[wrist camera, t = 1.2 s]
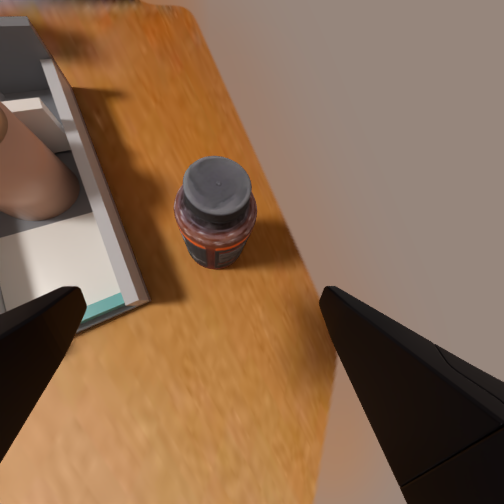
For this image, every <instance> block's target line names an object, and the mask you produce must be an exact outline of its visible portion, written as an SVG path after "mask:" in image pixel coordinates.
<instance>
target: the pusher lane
mask: <svg viewBox="0 0 504 504" xmlns="http://www.w3.org/2000/svg"><path fill="white" fill-rule="evenodd" d="M0 92H1V93H2V94H3V95H4V96H5V99H6V101H11V100H20V99H29V98H38V97H39V98H40V99H41V101H42V102H43V103H44V104H45V105H46V107H47V108H48V109H49V110H50V112H51V113H52V114H53V115H54V116H55V118H56V119H57V120H58V121H59V123H60V124H61V125H62V126H63V128H64V130H65V133H66V136H67V139H68V142H69V145H70V148H71V150H67V151H62V152H57V153H54V154H55V155H56V156H57V157H58V158H59V159H60V160H61V161H62V162H63V163H64V164H65V165H66V166H67V167H68V168H69V169H70V170H71V171H72V172H73V173H74V174H75V175H76V177H77V179H78V181H79V185H80V190H79V195H78V197H77V200H76V201H75V203H74V204H73V205H72V206H71V207H70V208H69V209H68V210H67V211H65V212H64V213H62V214H60V215H58V216H56V217H54V218H50V219H47V220H41V221H25V220H20V219H17V218H14V217H12V216H10V215H7V214H5V213H3V212H1V211H0V314H2V313H5V312H7V311H9V310H11V309H13V308H16V307H18V306H20V305H22V304H25V303H27V302H29V301H31V300H33V299H36V298H38V297H40V296H42V295H44V294H47V293H49V292H51V291H53V290H55V289H58V288H60V287H63V286H78V287H79V288H81V291H82V293H83V296H84V298H85V301H86V304H87V309H86V313H85V315H84V317H83V319H82V321H81V323H80V325H79V327H78V329H77V332H76V334H77V333H79V332H81V331H84V330H86V329H88V328H91V327H93V326H95V325H98V324H100V323H102V322H104V321H107V320H109V319H111V318H114V317H116V316H118V315H121V314H123V313H125V312H128V311H130V310H132V309H134V308H137V307H139V306H141V305H144V304H146V303H148V302H151V299H150V296H149V293H148V291H147V288H146V285H145V283H144V280H143V277H142V275H141V272H140V269H139V267H138V264H137V261H136V259H135V256H134V253H133V251H132V248H131V245H130V242H129V240H128V237H127V234H126V232H125V229H124V226H123V224H122V221H121V218H120V216H119V213H118V210H117V208H116V205H115V202H114V200H113V197H112V194H111V192H110V189H109V186H108V184H107V181H106V178H105V176H104V173H103V170H102V167H101V165H100V162H99V159H98V157H97V154H96V151H95V149H94V146H93V143H92V141H91V138H90V135H89V133H88V130H87V127H86V125H85V122H84V119H83V117H82V114H81V111H80V109H79V106H78V103H77V100H76V98H75V95H74V92H73V90H72V87H71V85H70V84H69V82H68V81H67V79H66V77H65V76H64V74H63V73H62V71H61V70H60V68H59V66H58V65H57V63H56V62H55V60H54V58H53V57H52V55H51V54H50V52H49V51H48V49H47V47H46V46H45V44H44V43H43V41H42V40H41V38H40V36H39V35H38V33H37V32H36V30H35V28H34V27H33V25H32V24H31V22H30V21H29V19H28V17H27V16H25V17H0Z"/></svg>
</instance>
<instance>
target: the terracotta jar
mask: <svg viewBox="0 0 504 504" xmlns="http://www.w3.org/2000/svg"><path fill="white" fill-rule="evenodd" d="M79 190H80V185H79V181H78V179H77V177H76V175H75V174H74V173H73V172H72V171H71V170H70V169H69V168H68V167H67V166H66V165H65V164H64V163H63V162H62V161H61V160H60V159H59V158H58V157H57V156H56V155H55V154H54V153H53V152H52V151H51V150H50V149H49V148H48V147H47V146H46V145H45V144H44V143H43V142H42V141H41V140H40V139H39V138H38V137H37V136H36V135H35V134H34V133H33V132H31V131H30V130H29V129H28V128H27V127H26V126H25V125H24V124H23V123H22V122H21V121H20V120H19V119H18V118H17V117H16V116H15V115H14V114H13V113H12V112H11V111H10V110H9V109H8V108H7V107H6V106H5V105H4V104H3V103H1V102H0V211H1V212H3V213H5V214H7V215H10V216H12V217H14V218H17V219H20V220H25V221H41V220H47V219H50V218H54V217H56V216H58V215H60V214H62V213H64V212H65V211H67V210H68V209H69V208H70V207H71V206H72V205H73V204H74V203H75V201H76V200H77V197H78V195H79Z"/></svg>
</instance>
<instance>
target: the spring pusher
mask: <svg viewBox="0 0 504 504" xmlns="http://www.w3.org/2000/svg"><path fill="white" fill-rule="evenodd" d="M0 102H1V103H3V104H4V105H5V106H6V107H7V108H8V109H9V110H10V111H11V112H12V113H13V114H14V115H15V116H16V117H17V118H18V119H19V120H20V121H21V122H22V123H23V124H24V125H25V126H26V127H27V128H28V129H29V130H30V131H31V132H33V133H34V134H35V135H36V136H37V137H38V138H39V139H40V140H41V141H42V142H43V143H44V144H45V145H46V146H47V147H48V148H49V149H50V150H51V151H52V152H53V153H57V152H62V151H67V150H71V148H70V145H69V142H68V139H67V136H66V133H65V130H64V128H63V126H62V125H61V124H60V123H59V121H58V120H57V119H56V118H55V116H54V115H53V114H52V113H51V112H50V110H49V109H48V108H47V107H46V105H45V104H44V103H43V102H42V101H41V99H40V98H39V97H38V98H29V99H20V100H11V101H6V99H5V96H4V95H3V94H2V93H1V92H0Z"/></svg>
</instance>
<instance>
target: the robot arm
mask: <svg viewBox="0 0 504 504" xmlns="http://www.w3.org/2000/svg"><path fill="white" fill-rule="evenodd" d="M319 306H320V309H321V312H322V315H323V318H324V320H325V323H326V326H327V329H328V332H329V335H330V337H331V340H332V342H333V344H334V347H335V349H336V351H337V353H338V355H339V357H340V360H341V362H342V364H343V366H344V368H345V370H346V372H347V375H348V377H349V379H350V381H351V383H352V385H353V387H354V390H355V392H356V394H357V396H358V398H359V401H360V402H361V405H362V407H363V409H364V411H365V413H366V416H367V418H368V420H369V422H370V424H371V426H372V428H373V431H374V433H375V435H376V437H377V439H378V441H379V444H380V446H381V448H382V450H383V452H384V454H385V456H386V459H387V461H388V463H389V465H390V467H391V470H392V472H393V474H394V476H395V478H396V480H397V482H398V485H399V486H400V489H401V491H402V494H403V496H404V498H405V500H406V502H407V504H504V382H502V381H501V380H499V379H497V378H495V377H493V376H491V375H489V374H488V373H486V372H483V371H482V370H480V369H478V368H476V367H475V366H473V365H471V364H469V363H467V362H466V361H464V360H462V359H460V358H459V357H457V356H455V355H453V354H452V353H450V352H448V351H446V350H445V349H443V348H441V347H439V346H438V345H436V344H433V343H432V342H431V341H429V340H427V339H426V338H424V337H422V336H420V335H418V334H417V333H415V332H414V331H412V330H410V329H408V328H407V327H405V326H403V325H401V324H400V323H398V322H396V321H395V320H393V319H391V318H389V317H388V316H386V315H384V314H383V313H381V312H379V311H377V310H376V309H374V308H372V307H370V306H369V305H367V304H365V303H364V302H361V301H360V300H358V299H357V298H355V297H353V296H352V295H350V294H348V293H346V292H344V291H343V290H341V289H339V288H338V287H336V286H326V287H325V288H324V290H323V293H322V295H321V298H320V300H319ZM86 309H87V304H86V301H85V298H84V296H83V293H82V291H81V288H79V287H78V286H63V287H60V288H58V289H55V290H53V291H51V292H49V293H47V294H44V295H42V296H40V297H38V298H36V299H33V300H31V301H29V302H27V303H25V304H22V305H20V306H18V307H16V308H13V309H11V310H9V311H7V312H5V313H2V314H0V463H1V461H2V460H3V458H4V456H5V455H6V453H7V451H8V450H9V448H10V446H11V445H12V443H13V441H14V440H15V438H16V436H17V435H18V433H19V431H20V430H21V428H22V426H23V425H24V423H25V421H26V420H27V418H28V416H29V415H30V413H31V412H32V410H33V408H34V407H35V405H36V403H37V402H38V400H39V398H40V397H41V395H42V393H43V392H44V390H45V388H46V387H47V385H48V383H49V382H50V380H51V378H52V377H53V375H54V373H55V372H56V370H57V368H58V367H59V365H60V363H61V362H62V360H63V358H64V356H65V354H66V352H67V351H68V349H69V346H70V344H71V342H72V340H73V338H74V336H75V334H76V332H77V329H78V327H79V325H80V323H81V321H82V319H83V317H84V315H85V313H86Z"/></svg>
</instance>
